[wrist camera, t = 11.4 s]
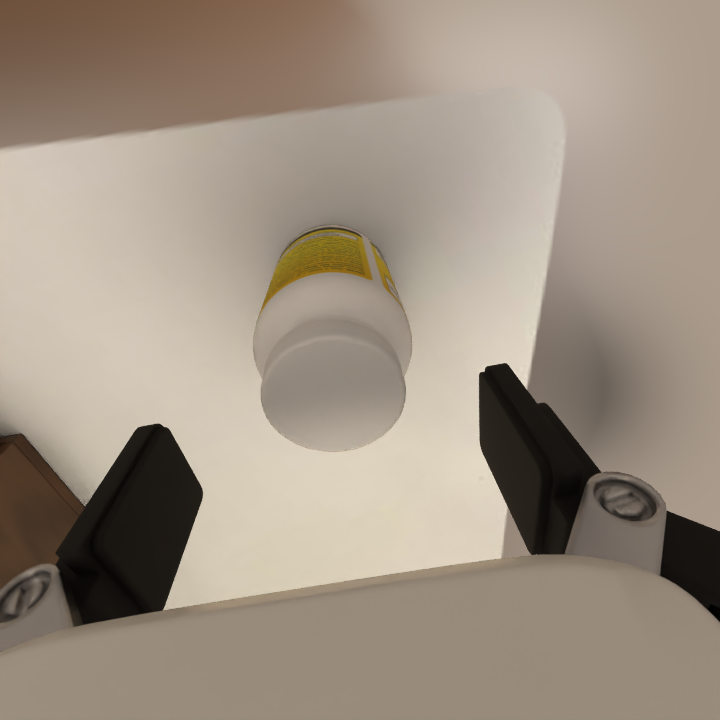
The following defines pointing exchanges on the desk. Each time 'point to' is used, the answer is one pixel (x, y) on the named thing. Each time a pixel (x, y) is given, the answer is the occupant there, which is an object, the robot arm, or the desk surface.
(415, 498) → the desk surface
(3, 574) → the cabinet
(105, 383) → the desk surface
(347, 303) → the pill bottle
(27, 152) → the desk surface
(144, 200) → the desk surface
